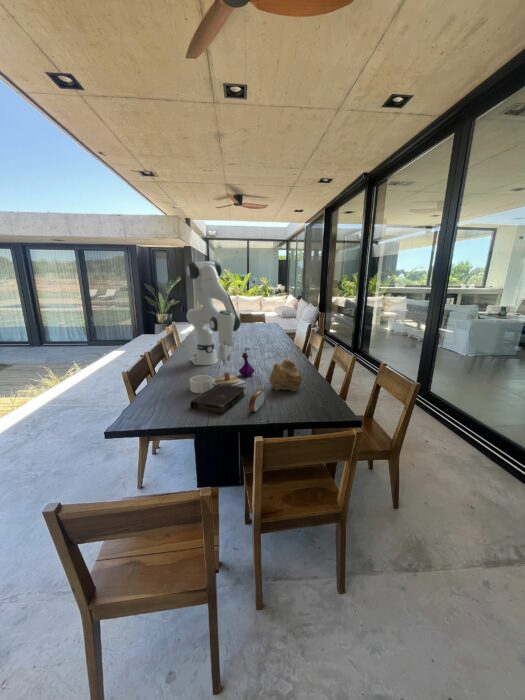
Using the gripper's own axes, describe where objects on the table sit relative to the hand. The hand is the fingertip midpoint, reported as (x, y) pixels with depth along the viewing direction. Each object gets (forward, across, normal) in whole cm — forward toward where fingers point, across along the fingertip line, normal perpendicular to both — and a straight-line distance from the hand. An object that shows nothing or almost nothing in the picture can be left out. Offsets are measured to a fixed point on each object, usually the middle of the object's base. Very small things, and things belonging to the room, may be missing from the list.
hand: (226, 362), depth 172 cm
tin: (+13, -31, -23) cm, 41 cm away
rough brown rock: (+12, -3, -36) cm, 38 cm away
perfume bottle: (+12, +14, -9) cm, 21 cm away
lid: (+12, +1, 0) cm, 12 cm away
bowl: (+12, -12, +11) cm, 21 cm away
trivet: (+12, +1, 0) cm, 12 cm away
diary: (+14, -27, -4) cm, 30 cm away
